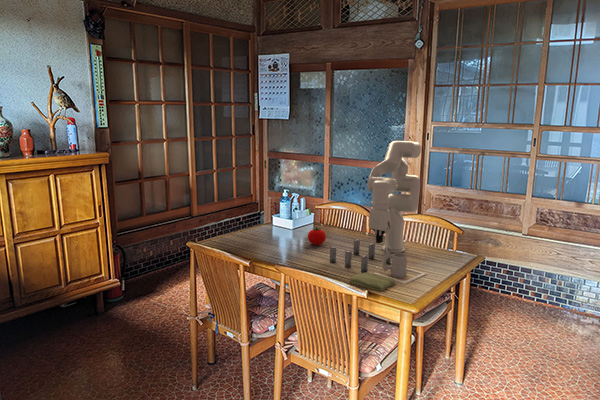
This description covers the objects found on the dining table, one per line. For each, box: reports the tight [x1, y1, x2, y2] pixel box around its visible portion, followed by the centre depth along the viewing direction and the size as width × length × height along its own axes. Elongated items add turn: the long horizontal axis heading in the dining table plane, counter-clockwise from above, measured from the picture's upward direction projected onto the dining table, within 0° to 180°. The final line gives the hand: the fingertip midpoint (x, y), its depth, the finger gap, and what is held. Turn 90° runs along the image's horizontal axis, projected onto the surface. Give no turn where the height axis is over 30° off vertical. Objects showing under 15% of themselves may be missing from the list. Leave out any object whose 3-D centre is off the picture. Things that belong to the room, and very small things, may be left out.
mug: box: [381, 249, 408, 279], centre depth 216 cm, size 8×12×12 cm, turn 75°
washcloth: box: [348, 272, 396, 292], centre depth 206 cm, size 13×18×3 cm
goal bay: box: [372, 267, 427, 285], centre depth 217 cm, size 18×18×1 cm
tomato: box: [307, 227, 327, 246], centre depth 264 cm, size 10×10×10 cm
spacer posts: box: [329, 238, 392, 274], centre depth 233 cm, size 22×23×8 cm
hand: (379, 242), depth 225 cm, fingers closed
